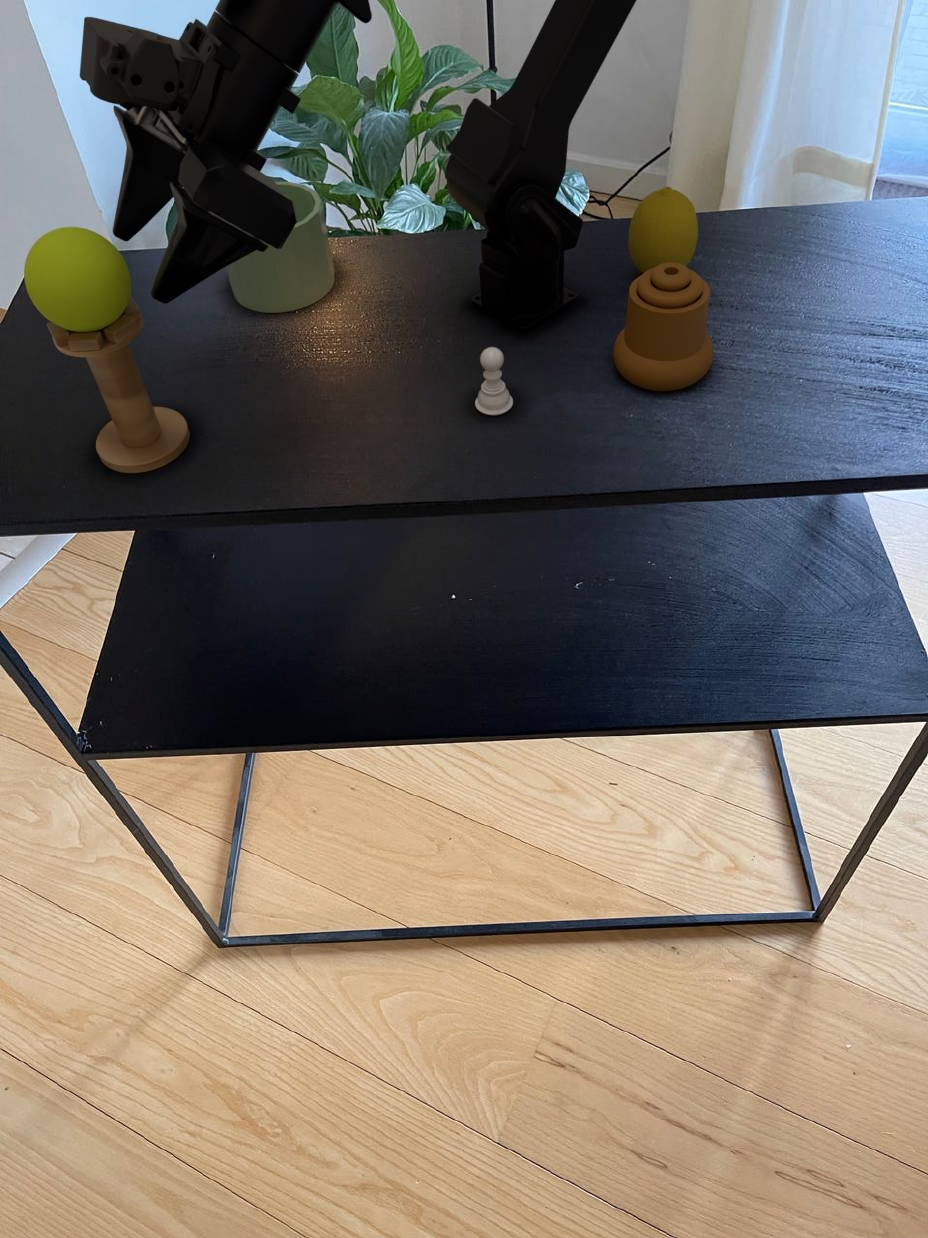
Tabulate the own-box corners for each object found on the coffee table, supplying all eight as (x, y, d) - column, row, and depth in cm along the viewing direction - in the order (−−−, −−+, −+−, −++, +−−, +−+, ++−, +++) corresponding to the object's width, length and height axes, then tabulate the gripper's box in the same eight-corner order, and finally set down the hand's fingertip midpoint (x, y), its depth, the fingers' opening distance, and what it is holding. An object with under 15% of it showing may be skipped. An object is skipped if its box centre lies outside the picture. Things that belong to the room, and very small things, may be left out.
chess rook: (111, 416, 76) (56, 290, 67) (197, 412, 75) (153, 284, 67) (89, 475, 71) (28, 348, 63) (180, 471, 71) (131, 342, 63)
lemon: (690, 300, 80) (701, 206, 74) (622, 296, 81) (628, 203, 75) (694, 264, 84) (705, 171, 78) (628, 261, 85) (634, 169, 79)
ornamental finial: (594, 376, 75) (642, 327, 78) (682, 408, 72) (728, 355, 75) (598, 282, 69) (650, 233, 72) (695, 311, 65) (744, 259, 69)
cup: (244, 258, 89) (224, 183, 84) (340, 255, 89) (327, 179, 83) (223, 314, 84) (201, 237, 78) (327, 311, 83) (311, 233, 78)
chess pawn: (512, 391, 74) (510, 335, 70) (513, 415, 72) (511, 358, 69) (475, 393, 74) (471, 337, 70) (475, 417, 73) (471, 360, 69)
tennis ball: (62, 299, 68) (24, 210, 63) (153, 294, 67) (121, 204, 62) (35, 354, 63) (-8, 264, 59) (132, 349, 63) (97, 257, 58)
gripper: (92, -87, 58) (-14, 150, 64) (187, 2, 47) (50, 279, 53) (246, 28, 66) (140, 229, 72) (359, 126, 55) (223, 355, 61)
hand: (137, 267), depth 64 cm, fingers open, 9 cm apart
